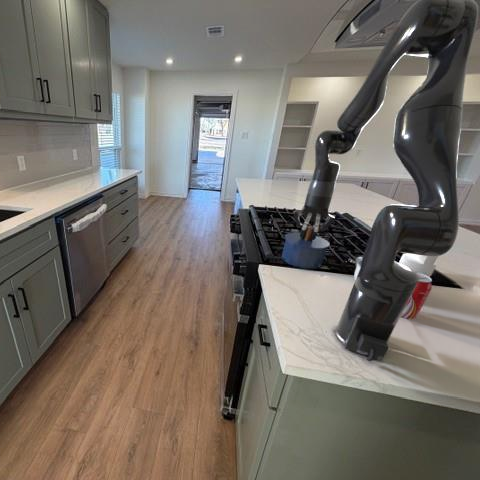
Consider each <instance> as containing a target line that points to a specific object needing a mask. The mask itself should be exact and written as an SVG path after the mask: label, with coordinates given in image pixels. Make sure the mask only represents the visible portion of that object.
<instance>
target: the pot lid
mask: <svg viewBox="0 0 480 480" xmlns="http://www.w3.org/2000/svg"><path fill="white" fill-rule="evenodd" d="M313 230H314V226H311V225H307V227H306V232H305V235H304V239H301V237H300V233H301V232H288V233H286V234H285V235H284V238H285V241H286V240H287V241H288V242H290V243H292V244H294V245H297V246H300V247H304V248H309V249H326V248H327V249H328V248H329V247H330V242H329V241H328V240H326V239H325V238H323V237H321V236H318V235H316V238H315V240H313V241H310V240H311V236H312V233H313Z"/></svg>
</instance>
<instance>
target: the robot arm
mask: <svg viewBox="0 0 480 480" xmlns="http://www.w3.org/2000/svg"><path fill="white" fill-rule="evenodd" d="M478 18H479V5H478V3H477V2H476V1H475V0H417V1H416V2H415V3H413V4H412V5H411V6H410V7H409V8H408V9H407V11H406V12H405V13H404V15H403V16H402V17H401V19H400V20H399V22H398V23H397V25H396V26H395V28H394V29H393V31H392V32H391V35H390V36H389V38H388V39H387V41H386V43H385V45H384V46H383V47H382V50H381V51H380V53H379V55H378V57H377V58H376V60H375V62H374V63H373V66H372V67H371V69H370V71H369V73H368V74H367V76H366V77H365V80H364V82H363V83H362V85H361V86H360V88H359V90H358V91H357V93H356V94H355V96H354V97H353V99H352V100H351V101H350V102H349V103H348V105H347V107H345V109H344V110H343V111H342V113H341V115H340V116H339V117H338V119H337V120H336V126H337V128H338V130H331V129H329V130H324V131H321V132H320V133H319V134H318V136H317V137H316V139H315V142H314V169H313V172H312V177H311V180H310V183H309V186H308V188H307V192H306V196H305V201H304V204H303V207H302V208H301V209H300V210H294V211H293V217H294V221H295V224H296V227H297V228H300V229H301V230H300V232H299V233H300V237H301V239H304V235H305V232H306V227H307V226H309V223H310V222H313V223H314V226H313V227H314V229H313V233H312V236H311V240H310V241H313V240H315V238H316V236H318V235H317V234H318V233H319V232H324V231H326V230H327V229H328V228H329V227H330V226H331V225H332V223H334V222H335V221H336V218H335V216H334V215H331V214H330V212H329V208H330V205H331V202H332V198H333V196H334V193H335V188H336V182H337V179H338V176H339V173H340V170H341V165H340V164H339V163H338V162H335V161H331V159H330V158H329V157H330V156H329V155H345V154H347V153H349V152H351V150H352V149H353V148H354V147H355V145H356V143H357V140H358V138H359V137H360V135H361V133H362V131H363V129H364V128H365V126H367V124H368V123H369V122H370V121H371V120H372V119H373V117H374V116H376V114H377V113H378V112H379V111H380V109H381V107H382V106H383V104H384V101H385V98H386V93H387V85H388V81H389V77H390V74H391V72H392V70H393V68H394V67H395V65H396V64H397V63H398V61H399V60H400V59H401V58H402V57H403V56H404V55H405V56H412V57H413V56H415V57H425V58H426V59H427V62H428V67H427V73H426V76H425V79H424V81H423V82H422V83H421V84H420V86H418V88H416V90H415V91H414V92H413V93H412V94H411V95H410V96H409V98H408V99H406V101H405V102H404V103H403V104H402V105H401V107H400V109H399V110H398V112H397V114H396V117H395V121H394V128H393V129H394V131H393V138H392V139H393V140H392V145H393V146H392V147H393V151H394V153H395V154H396V157H397V158H398V160H399V161H400V163H401V164H402V166H403V167H404V169H405V170H406V171H407V173H408V174H409V175H410V177H411V179H412V180H413V182H414V185H415V187H416V190H417V196H418V205H408V204H396V203H395V204H387V205H386V206H384V207H382V208H381V209H380V211H379V212H378V213H377V215H376V216H375V218H374V221H373V224H372V227H371V229H370V232H369V236H368V240H367V242H366V246H365V249H364V252H363V255H362V257H363V258H362V264H361V268H360V270H359V273H358V275H357V278H356V281H355V280H354V283H353V285H352V287H351V291H350V293H349V296H348V298H347V300H346V303H345V305H344V308H343V311H342V313H341V316H340V319H339V321H338V323H337V326H336V327H335V330H334V336H335V337H336V339H337V340H338V341H339V342H340V343H341V344H342V345H343V347H344V350H348V351H349V352H350V351H351V352H354V353H357V354H359V355H363V356H365V360H366V361H367V362H373V361H374V360H379V359H380V358H384V357H385V355H386V353H387V352H388V349H389V345H388V342H389V340H390V338H391V336H392V334H393V332H394V329H395V328H396V326H397V324H398V322H399V320H400V318H401V317H400V316H401V315H402V313H403V311H404V309H405V307H406V305H407V303H408V301H409V299H410V297H411V295H412V293H413V291H414V289H415V288H416V286H417V284H418V281H419V277H418V275H417V274H416V273H415V272H414V271H413V270H411V269H410V268H408V267H406V266H404V265H402V264H400V263H399V262H398V261H396V257H397V254H398V253H402V254H406V253H408V254H416V255H424V256H438V257H440V256H443V255H445V254H446V253H448V252H449V251H450V250H451V249H452V247H453V246H454V245H455V242H456V240H457V237H458V234H459V223H460V213H459V211H460V210H459V197H458V196H459V195H458V180H457V178H458V176H457V175H458V156H459V146H460V145H459V144H460V139H461V137H460V136H461V131H462V120H463V112H464V111H463V110H464V109H463V108H464V107H463V106H464V105H463V104H464V103H463V102H464V91H465V84H466V83H465V82H466V74H467V68H468V63H469V57H470V53H471V49H472V45H473V41H474V36H475V33H476V29H477V24H478V20H479V19H478ZM301 215H302V216H303V218H304V220H303V223H301V220H300V217H301ZM324 219H326V221H325V222H324V223H323V224H322V225H321V226H320V222H321V221H323V220H324Z"/></svg>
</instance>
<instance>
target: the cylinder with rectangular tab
mask: <svg viewBox="0 0 480 480" xmlns="http://www.w3.org/2000/svg"><path fill="white" fill-rule="evenodd" d="M438 257H439V256H424V255H416V254H408V253H402V255H401V257H400V260H399V262H398V263H400V264H402V265H404V266H406V267H408V268H410V269H411V270H413V271H415V272H419V273H422V274H424V275H426V276H428V277H430V276H431V277H432V275H433V273H434V272H435V269H436V268H437V265H438V262H437V260H438ZM431 277H430V278H431Z"/></svg>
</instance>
